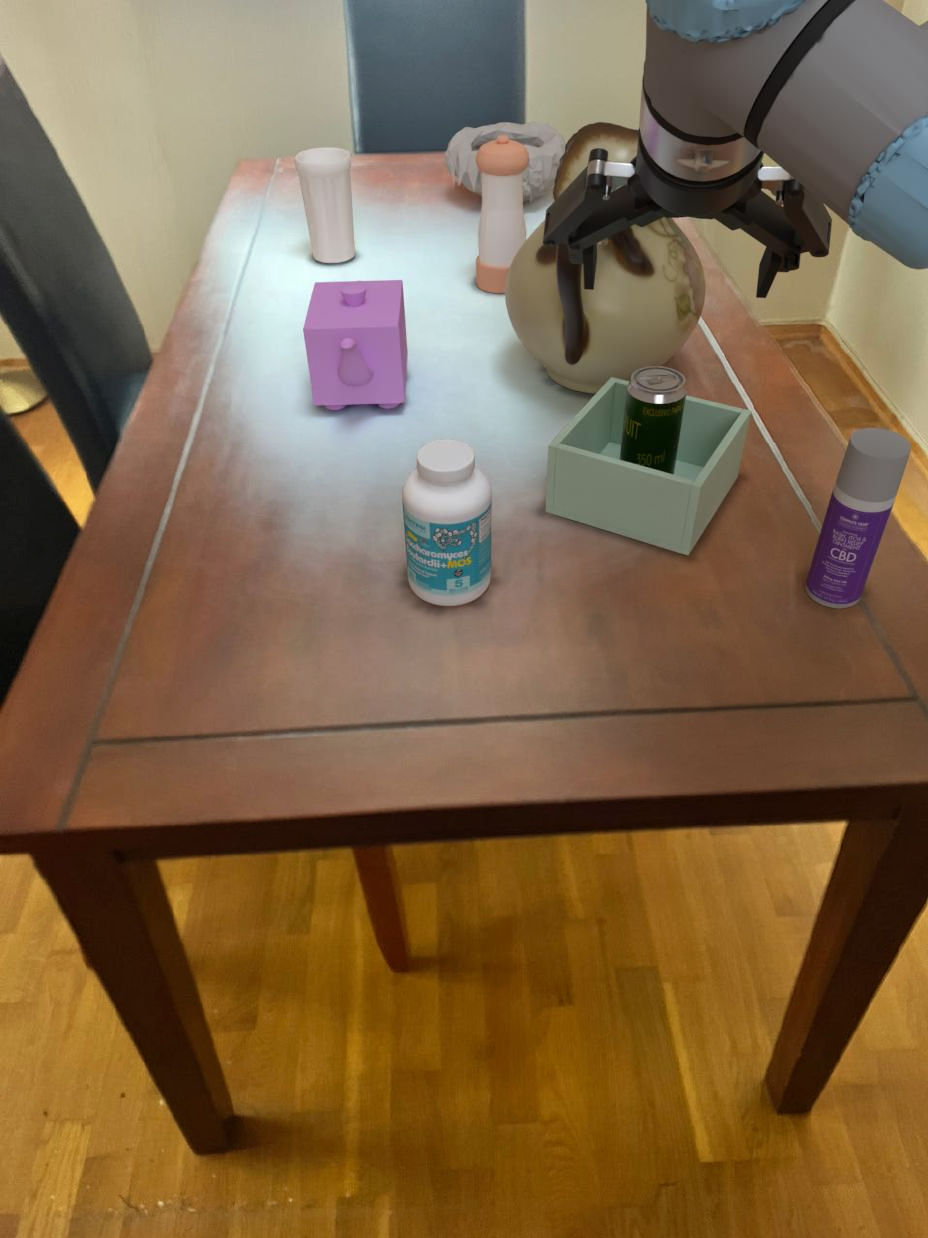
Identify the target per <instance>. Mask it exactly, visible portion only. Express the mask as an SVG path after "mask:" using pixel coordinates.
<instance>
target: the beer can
mask: <svg viewBox="0 0 928 1238" xmlns="http://www.w3.org/2000/svg"><path fill="white" fill-rule="evenodd" d="M686 380H687V379H686V377H685V375H684V374H683V373H682V372H680V370H679V371H678V370H677V369H674V368H672V367H667V366H663V365H661V366H648V367H644V368H640V369H638V370H636V371H634V373H633V374H632V375H631V381H630V382H629V383H628V387H627V395H626V404H625V414H624V423H623V433H622V442H621V452H620V460H622V461H626V462H630V463H633V464H637V465H641V466H644V467H648V468H651V469H655V470H659V471H662V472H666V473H669V474H673V475H674V470H675V464H676V457H677V451H678V444H679V438H680V431H681V425H682V418H683V412H684V405H685V399H686V395H687V391H688V389H687V386H686Z"/></svg>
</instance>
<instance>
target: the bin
mask: <svg viewBox="0 0 928 1238" xmlns="http://www.w3.org/2000/svg"><path fill="white" fill-rule="evenodd" d="M628 383H629V381H625V380H621V379H617V378H613V377H611V378H610V379H609V380H608V381H607V382H606V383H605V385H604V386H603V387H602V388H601V389H600V390H599V391H598V392H597V393H596V394H593V396H592V397H591V398H590V400H588V401H587V403H586V404H585V405H584V406H582V408H581V409H580V410H579V411H578V412H577V413H576V414H575V415H574V417H573V418H572V419H571V420H570V421H568V423H567V424H566V425H565V426H564V427H563V428H562V430H561V431H560V432H559V433H558V434H557V435H556V436H555V437H554V438H553V439H552V440H551V441H550V442H549V444H548V445H547V465H546V466H547V467H546V490H545V512H546V513H549V514H551V515H555V516H557V517H562V518H565V519H568V520H571V521H574V522H578V523H581V524H584V525H588V526H591V527H594V528H596V529H600V530H603V531H607V532H609V533H613V534H617V535H620V536H623V537H626V538H630V539H632V540H635V541H639V542H642V543H645V544H649V545H652V546H655V547H659V548H662V549H664V550H669V551H672V552H674V553H678V554H681V555H684V556H690V554H691V552H692V550H693V549H694V547H695V546H696V544H697V542H698V541H699V539H700V538H701V537H702V535H703V533H704V531H705V530H706V528H707V527H708V525H709V523H710V522H711V520H712V519H713V517H714V516H715V514H716V512H717V511H718V509H719V508H720V506H721V505H722V503H723V501H724V500H725V498H726V496H727V495H728V493H729V492H730V490H731V489H732V487H733V485H734V484H735V482H736V481H737V479H738V477H739V473H740V469H741V464H742V459H743V455H744V449H745V444H746V441H747V435H748V430H749V425H750V421H751V417H752V410H751V409H746V408H742V407H737V406H732V405H728V404H724V403H721V402H716V401H713V400H708V399H704V398H699V397H696V396H691V395H687V394H686V399H685V405H684V412H683V418H682V425H681V431H680V438H679V444H678V451H677V457H676V464H675V470H674V475H673V474H669V473H666V472H662V471H659V470H655V469H651V468H648V467H644V466H641V465H637V464H633V463H630V462H626V461H622V460H620V452H621V442H622V433H623V423H624V414H625V404H626V395H627V387H628Z"/></svg>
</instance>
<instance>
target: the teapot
mask: <svg viewBox="0 0 928 1238" xmlns="http://www.w3.org/2000/svg"><path fill="white" fill-rule="evenodd" d="M404 296H405V295H404V281H403V279H392V280H391V279H387V280H385V279H383V280H381V279H380V280H353V281H351V280H349V281H348V280H347V281H346V280H345V281H316V282H315V283H314V285H313V289H312V292H311V296H310V299H309V302H308V308H307V311H306V316H305V320H304V324H303V327H302V331H303V339H304V346H305V352H306V358H307V367H308V373H309V379H310V387H311V393H312V400H313V405H314V406H324V407H325V409H327V410H330V411H339V410H343V409H344V408H346V407H347V406H351V405H377V406H378V407H380V408H382V409H387V410H389V409H390V410H391V409H394V408H397V407H398V406H400V404H405V399H406V398H405V397H406V388H407V387H406V386H407V385H406V384H407V369H408V356H409V355H408V353H409V351H408V339H407V337H408V336H407V323H406V310H405V308H406V307H405V297H404Z"/></svg>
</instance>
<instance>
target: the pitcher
mask: <svg viewBox="0 0 928 1238" xmlns="http://www.w3.org/2000/svg"><path fill="white" fill-rule="evenodd" d="M638 132H639V129H634V128H630V127H626V126H623V125H619V124H616V123H612V122H603V121H597V122H594V123H589V124H586V125H584V126H582V127H580V128H579V129H578V130H577V131H576V132H574V133H573V134H572V135H571V137H570V138H569V139H568V140H567V142H565V143H566V146H565V153H564V154H563V156H562V157H561V158H560V160H559V162H560V164H559V168H558V169H557V172H556V178H555V184H554V185H553V189H552V198H553V202H554V201H555V200H556V199H557V198H558V197H559V196H560V195H561V194H562V193H563V191H564V190H565V189H566V188H567V187H568V186H569V185H570V184H571V183H572V182H573V181H574V180H575V179H576V178H577V176H578V175H579V174H580V173H581V172H582V171H583V170H584V169H585V168H586V167H587V165H588V159H589V154H590V151H591V150H593V149H595V148H602V149H605V150H607V151H608V161H613V162H618V163H629V164H630V162H631V160H632V159H633V158H634V157H635V156H636V155H637V146H638ZM621 186H623V185H621ZM621 186H618V187H617V188H616V189H618V188H619V187H621ZM616 189H615V190H616ZM613 191H614V190H613ZM611 192H612V191H611ZM544 226H545V219H544V220H543V221H542V222H541V223H540V224H539V225H538V226H537V227H536V228H535V229H534V230H533V232H531V233H530V234H529V236H528V237H526V241H525V242H524V243H523V245H522V246H521V247H520V249H519V250H518V252H517V254H516V255H515V257H514V259H513V261H512V263H511V265H510V268H509V270H508V273H507V277H506V283H505V293H504V298H505V299H504V300H505V306H506V307H505V308H506V310H507V311H506V312H507V316H508V319H509V322H510V323H511V327H512V328H513V331H514V332H515V334H516V336H517V338H518V339H519V341H520V342H521V344H522V345H523V346H524V348H525V349H526V350H527V351H528V352H529V353H530V355H532V357H533V358H535V360H537V361H538V362H539V363H540V364H541V365H543V366H544V367H545V371H546V373H547V375H548V376H549V378H550V379H551V380H552V381H553V382H555V383H556V384H558V385H560V386H562V387H564V388H566V389H569V390H571V391H576V392H579V393H585V394H593V395H595V394H596V393H597V392H598V391H599V390H600V389H601V388H602V387H603V386H604V385H605V383H606V382H607V381H608V380H609V379H610V378H611V377H613V378H617V379H621V380H625V381H629V382H630V381H631V375H632V374H633V373H634V371H636V370H638V369H640V368H644V367H648V366H663V365H664V364H665V363H666V362H667V361H669V360H670V359H671V358H672V357H673V356H674V355H675V354H677V353H678V351H680V349H682V347H683V346H684V344H686V342H687V341H688V340H689V339H690V337H691V335H692V334H693V333H694V331H695V329H696V328H697V325H698V323H699V321H700V319H701V316H702V315H703V314H702V313H703V310H704V305H705V301H706V288H707V287H706V277H705V271H704V267H703V264H702V261H701V259H700V257H699V255H698V253H697V250H696V249H695V247H694V245H693V244H692V242H691V241H690V239H689V238H688V236H687V235H686V234H685V232H683V230H682V229H681V227H680V226H679V225H678V224H677V222H676V221H675V220H674V218H666V217H663V218H661V219H659V220H657V221H655V222H653V223H650V224H648V225H646V226H644V227H639V226H637V225H633V226H630V227H628V228H626V229H624V230H622V231H620V232H618V233H616V234H614V235H612V236H610V237H608V238H606V239H604V240H602V241H600V242H598V243H597V263H596V272H595V282H594V290H588V289H584V268H583V264H573V263H571V262H570V261H569V249H568V248H567V247H568V245H566V244H565V243H560V244H559V245H558V246H555V247H548V246H545V245H544V244H543V235H544Z"/></svg>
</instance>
